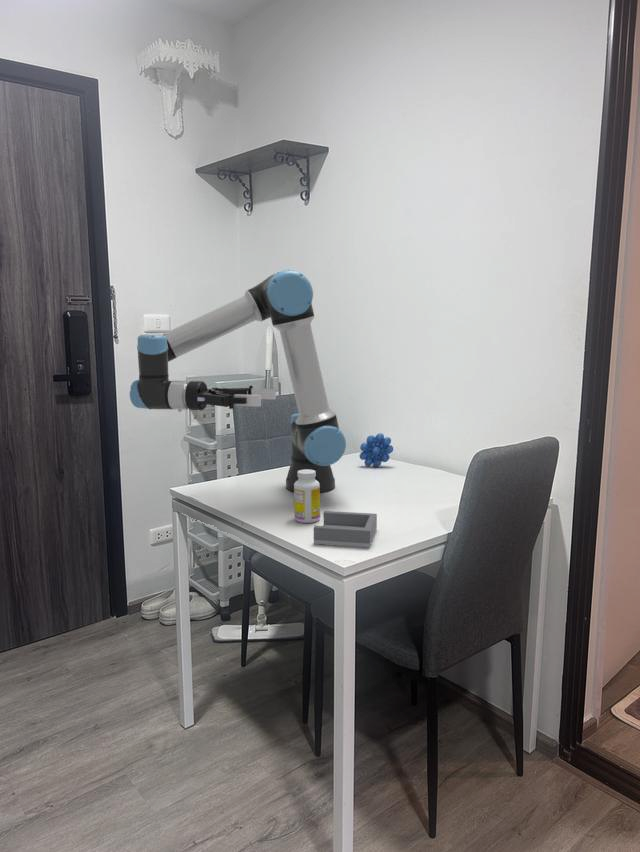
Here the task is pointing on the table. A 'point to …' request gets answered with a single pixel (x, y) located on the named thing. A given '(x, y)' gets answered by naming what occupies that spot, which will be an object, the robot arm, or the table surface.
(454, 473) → the table surface
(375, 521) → the gray open-sided tray
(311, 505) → the supplement bottle
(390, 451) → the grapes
